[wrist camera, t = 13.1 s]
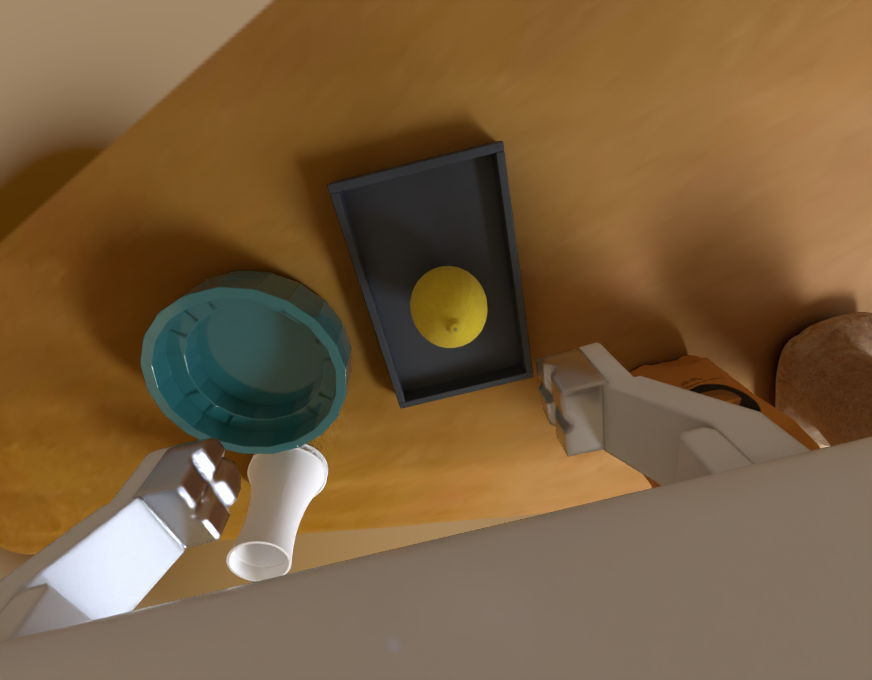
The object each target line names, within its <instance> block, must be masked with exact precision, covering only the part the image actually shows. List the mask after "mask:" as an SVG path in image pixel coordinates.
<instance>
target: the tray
mask: <svg viewBox="0 0 872 680" xmlns="http://www.w3.org/2000/svg"><path fill="white" fill-rule="evenodd" d="M327 187H328V190H329V193H330V196H331V199H332V202H333V205H334V208H335V211H336V214H337V217H338V220H339V223H340V226H341V229H342V232H343V235H344V238H345V241H346V244H347V248H348V251H349V254H350V257H351V260H352V263H353V266H354V269H355V272H356V275H357V278H358V281H359V284H360V287H361V290H362V293H363V296H364V299H365V302H366V305H367V308H368V311H369V314H370V317H371V320H372V323H373V326H374V330H375V333H376V336H377V339H378V342H379V345H380V348H381V351H382V354H383V357H384V360H385V363H386V366H387V369H388V372H389V375H390V378H391V381H392V384H393V387H394V390H395V393H396V396H397V399H398V402H399V406H400V408H405V407H409V406H413V405H418V404H422V403H426V402H430V401H434V400H439V399H443V398H447V397H451V396H455V395H460V394H464V393H468V392H472V391H476V390H481V389H485V388H489V387H493V386H497V385H502V384H506V383H510V382H514V381H518V380H523V379H527V378H531V377H533V370H532V362H531V354H530V347H529V339H528V331H527V323H526V316H525V308H524V300H523V292H522V284H521V277H520V269H519V261H518V253H517V246H516V238H515V230H514V222H513V214H512V207H511V199H510V191H509V183H508V176H507V168H506V160H505V152H504V144H503V141H495V142H491V143H487V144H483V145H479V146H475V147H471V148H467V149H463V150H459V151H455V152H451V153H447V154H443V155H439V156H435V157H431V158H427V159H423V160H419V161H415V162H411V163H407V164H403V165H399V166H395V167H391V168H387V169H383V170H379V171H375V172H372V173H368V174H364V175H360V176H356V177H352V178H348V179H344V180H340V181H336V182H332V183H330V184H328V185H327ZM442 266H453V267H459V268H461V269H463V270H466V271H467V272H469V273H470V274H471V275H473V276H474V277H475V278H476V279H477V281H478V282H479V283H480V284H481V286H482V288H483V290H484V293H485V295H486V299H487V309H488V310H487V317H486V322H485V324H484V327H483V329H482V331H481V332H480V333H479V335H478V336H477V337H476V338H475V339H474V340H472V341H471V342H470V343H468V344H466V345H464V346H461V347H456V348H444V347H440V346H437V345H435V344H433V343H431V342H429V341H428V340H427V339H426V338H425V337H423V336H422V335H421V333H420V332H419V331H418V329H417V328H416V326H415V324H414V322H413V319H412V316H411V309H410V300H411V295H412V291H413V289H414V287H415V285H416V283H417V282H418V280H419V279H420V278H421V277H422V276H423V275H424V274H426V273H427V272H428V271H430V270H432V269H434V268H437V267H442Z"/></svg>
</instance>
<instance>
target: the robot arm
mask: <svg viewBox="0 0 872 680" xmlns="http://www.w3.org/2000/svg"><path fill="white" fill-rule="evenodd" d="M536 367H537V374H538V375H539V377H540V379H541V381H542V383H541V385H540V387H539V391H540V398H541V402H542V406H543V410H544V412H545V414H546V417H547V419H548V421H549V423H550V424H551V425H553V426H555V427H556V433H557V438H558V439H559V441H560V443H561V445H562V447H563V449H564V450H565V452H566V454H567V456H573V455H578V454H582V453H587V452H592V451H597V450H601V449H605V451H606V452H608V453H610V454H611V455H613V456H614V457H616V458H618V459H619V460H621V461H623V462H624V463H626V464H627V465H629V466H631V467H632V468H634V469H636V470H637V471H639V472H641V473H642V474H644V475H645V476H647V477H649V478H650V479H652V480H654V481H655V482H657V483H658V484H660V485H662V486H660V487H655V488H651V489H647V490H643V491H638V492H634V493H630V494H626V495H621V496H617V497H613V498H609V499H604V500H600V501H596V502H592V503H588V504H583V505H579V506H575V507H571V508H567V509H562V510H558V511H554V512H550V513H546V514H542V515H538V516H533V517H529V518H525V519H520V520H516V521H512V522H508V523H503V524H499V525H495V526H490V527H486V528H482V529H478V530H474V531H469V532H465V533H460V534H456V535H452V536H448V537H444V538H439V539H435V540H430V541H426V542H422V543H418V544H413V545H409V546H405V547H401V548H397V549H392V550H388V551H383V552H379V553H375V554H371V555H367V556H362V557H358V558H354V559H350V560H345V561H341V562H337V563H333V564H329V565H324V566H320V567H316V568H311V569H307V570H303V571H299V572H295V573H291V574H286V575H282V576H278V577H273V578H269V579H265V580H261V581H257V582H252V583H248V584H244V585H240V586H235V587H231V588H227V589H223V590H218V591H214V592H210V593H206V594H201V595H198V596H193V597H189V598H185V599H180V600H176V601H172V602H167V603H163V604H159V605H155V606H151V607H146V608H142V609H138V610H133V609H134V608H135V607H136V606H137V605H138V603H139V602H140V601H141V600H142V599H143V597H145V595H146V594H147V593H148V592H149V591H150V590H151V589H152V587H153V586H154V585H155V584H156V583H157V582H158V580H159V579H160V578H161V577H162V576H163V575H164V574H165V573H166V571H167V570H168V569H169V568H170V567H171V566H172V565H173V563H174V562H175V561H176V560H177V559H178V558H179V557H180V555H181V554H182V553H183V552H184V549H186V548H190V547H193V546H197V545H201V544H204V543H208V542H212V541H216V540H219V539H220V537H221V535H222V532H223V530H224V528H225V525H226V523H227V521H228V518H229V516H230V514H229V511H228V509H227V508H228V507H229V506H230V505H231V504H232V503H233V502H234V501H235V500H236V499H237V497H238V495H239V492H240V489H241V476H240V473H239V469H238V467H237V466H236V464H235V463H234V462H233V461H231V460H229V459H227V458H225V457H224V453H225V448H224V446H223V445H222V444H221V442H220V441H219V439H215V438H208V439H203V440H199V441H194V442H190V443H185V444H181V445H176V446H173V447H167V448H163V449H159V450H155V451H153V452H151V453H149V454H148V455H147V456H146V457H145V458H144V460H143V461H142V462H141V464H140V465H139V466H138V468H137V469H136V470H135V471H134V473H133V474H132V475H131V477H130V478H129V479H128V480H127V482H126V483H125V484H124V486H123V487H122V488H121V490H120V491H119V492H118V493H117V495H116V496H115V497H114V499H113V500H112V501H111V502H110V504H108V505H104V506H102V507H100V508H99V509H98V510H96V511H95V512H94V513H92V514H91V515H89V516H88V517H87V518H85V519H84V520H83V521H81V522H80V523H78V524H77V525H76V526H74V527H73V528H72V529H70V530H69V531H67V532H66V533H65V534H63V535H62V536H61V537H59V538H58V539H56V540H55V541H54V542H52V543H51V544H50V545H48V546H47V547H45V548H44V549H43V550H41V551H40V552H39V553H37V554H36V555H35V556H33V557H32V558H30V559H29V560H28V561H26V562H25V563H24V564H22V565H21V566H19V567H18V568H17V569H15V570H14V571H13V572H11V573H10V574H9V575H7V576H6V577H4V578H3V579H2V580H0V680H872V437H868V438H863V439H859V440H855V441H851V442H846V443H842V444H838V445H834V446H829V447H825V448H821V449H817V450H812V451H810V450H809V449H808V448H806V447H805V446H804V445H803V444H801V443H800V442H799V441H797V440H796V439H795V438H793V437H792V436H791V435H789V434H788V433H787V432H786V431H784V430H783V429H782V428H780V427H779V426H778V425H776V424H775V423H774V422H772V421H771V420H770V419H769V418H767V417H766V416H765V415H763V414H762V413H761V412H758V411H755V410H752V409H748V408H745V407H742V406H739V405H735V404H732V403H729V402H725V401H722V400H719V399H715V398H712V397H709V396H705V395H702V394H699V393H695V392H692V391H689V390H686V389H682V388H679V387H676V386H672V385H669V384H666V383H662V382H659V381H656V380H652V379H649V378H646V377H642V376H637V377H633V376H632V375H631V374H630V373H629V372H628V371H627V370H626V369H625V368H624V367H623V366H622V365H621V364H620V363H619V362H618V361H617V360H616V359H615V358H614V357H613V356H612V355H611V354H610V353H609V352H608V351H607V350H606V349H605V348H604V347H603V346H602V345H601V344H600V343H593V344H589V345H586V346H582V347H578V348H576V349H572V350H569V351H565V352H561V353H557V354H553V355H549V356H546V357H542V358H538V359H537V360H536ZM132 610H133V611H132Z"/></svg>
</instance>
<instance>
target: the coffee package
mask: <svg viewBox="0 0 872 680" xmlns="http://www.w3.org/2000/svg"><path fill="white" fill-rule="evenodd" d="M629 373H630V374H631V375H632V376H633V377H637V376H642V377H646V378H649V379H652V380H656V381H659V382H662V383H666V384H669V385H672V386H676V387H679V388H682V389H686V390H689V391H692V392H695V393H699V394H702V395H705V396H709V397H712V398H715V399H719V400H722V401H725V402H729V403H732V404H735V405H739V406H742V407H745V408H748V409H752V410H755V411H758V412H761V413H762V414H763V415H765V416H766V417H767V418H769V419H770V420H771V421H772V422H774V423H775V424H776V425H778V426H779V427H780V428H782V429H783V430H784V431H786V432H787V433H788V434H789V435H791V436H792V437H793V438H795V439H796V440H797V441H799V442H800V443H801V444H803V445H804V446H805V447H806V448H808V449H809V450H810V451H812V450H817V449H820V447H819V446H818V445H817V444H816V442H815V441H814V440H813V439H812V438H811V437H810V436H809V435H808V434H807V433H806V432H805V431H804V430H803V429H802V428H801V427H800V426H799V425H798V424H797V422H796V421H795V420H793V419H791V418H790V417H788V416H787V415H785V414H784V413H782V412H781V411H779V410H778V409H776V408H775V407H773V406H772V405H770V404H769V403H767V402H766V401H764V400H763V399H761V398H759V397H758V396H756V395H755V394H753V393H752V392H750V391H749V390H748V389H747V388H745V387H744V386H742V385H741V384H740V383H739V382H737V381H736V380H735V379H733V378H732V377H731V376H729V375H728V374H727V373H726V372H724V371H723V370H721V369H720V368H719V367H718V366H716V365H715V364H714V363H713V362H711V361H710V360H709V359H707V358H700V357H697V356H691V355H687V356H682V357H681V358H679V359H678V360H675V361H670V362H663V363H660V364H657V365H642V366H640V367H638V368H636V370H633V371H631V372H629ZM643 475H644V474H643ZM644 476H645V475H644ZM645 477H646V479H647V480H648V481H649V483H650V484H651V486H652V487H653V488H655V487H660V486H662V485H660V484H658V483H657V482H655V481H654V480H652V479H650V478H649V477H647V476H645Z"/></svg>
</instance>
